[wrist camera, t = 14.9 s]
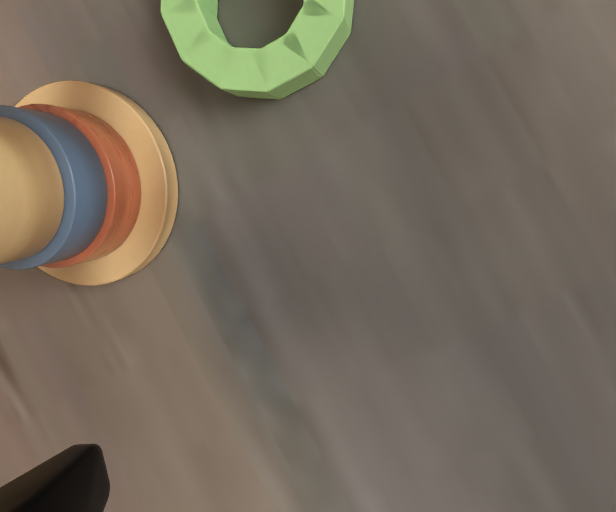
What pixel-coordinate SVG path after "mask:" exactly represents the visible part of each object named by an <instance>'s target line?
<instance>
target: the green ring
mask: <svg viewBox="0 0 616 512" xmlns="http://www.w3.org/2000/svg"><path fill="white" fill-rule="evenodd" d="M353 7H354V0H303V7H302V8H301V10H300V11H299V13H298V15H297V16H296V18H295V20H294V21H293V23H292V25H291V26H290V28H289V30H288V31H287V33H286V34H285V35H283V36H282V37H280V38H278V39H276V40H275V41H273V42H271V43H270V44H268V45H266V46H264V47H263V48H261V49H258V48H236V47H233V46H231V45H230V44H228V42H227V40H226V38H225V35H224V33H223V31H222V29H221V26H220V24H219V22H218V19H217V11H218V0H161V15H162V18H163V20H164V22H165V24H166V27H167V29H168V31H169V33H170V35H171V38H172V40H173V42H174V44H175V47H176V49H177V51H178V53H179V56H180V58H181V60H183V62H184V63H185V64H187V65H188V66H189V67H191V68H192V69H193V70H195V71H196V72H197V73H199V74H200V75H201V76H203V77H204V78H205V79H207V80H208V81H210V82H211V83H212V84H214V85H215V86H216V87H218V88H219V89H221V90H224V91H226V92H228V93H231V94H233V95H235V96H238V97H250V98H264V99H279V100H280V99H282V98H284V97H286V96H288V95H290V94H292V93H294V92H296V91H297V90H299V89H301V88H303V87H305V86H307V85H309V84H310V83H312V82H314V81H316V80H318V79H320V78H321V77H323V76H324V74H325V73H326V71H327V69H328V68H329V66H330V65H331V63H332V62H333V60H334V59H335V57H336V56H337V54H338V53H339V51H340V49H341V48H342V46H343V45H344V43H345V42H346V40H347V39H348V37H349V36H350V33H351V26H352V17H353Z"/></svg>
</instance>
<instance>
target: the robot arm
mask: <svg viewBox="0 0 616 512" xmlns="http://www.w3.org/2000/svg"><path fill="white" fill-rule="evenodd" d="M109 492H110V482H109V477H108V473H107V469H106V465H105V461H104V456H103V452H102V449H101V448H100V446H99V445H97V444H77V445H73V446H71V447H69V448H68V449H66V450H64V451H62V452H61V453H59V454H57V455H56V456H54V457H52V458H50V459H49V460H47V461H45V462H44V463H42V464H40V465H38V466H37V467H35V468H33V469H32V470H30V471H28V472H26V473H25V474H23V475H21V476H20V477H18V478H16V479H14V480H13V481H11V482H9V483H8V484H6V485H4V486H2V487H1V488H0V512H103V511H104V508H105V505H106V503H107V500H108V497H109Z"/></svg>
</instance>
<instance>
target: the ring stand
mask: <svg viewBox="0 0 616 512" xmlns="http://www.w3.org/2000/svg"><path fill="white" fill-rule="evenodd" d="M177 203H178V181H177V175H176V168H175V165H174V161H173V157H172V154H171V152H170V149H169V147H168V144H167V142H166V140H165V138H164V137H163V135H162V133H161V131H160V130H159V128H158V127H157V125H156V124H155V123H154V121H153V120H152V119H151V118H150V116H149V115H148V114H147V113H146V112H145V111H144V110H143V109H142V108H141V107H140V106H138V105H137V104H136V103H135V102H134V101H132V100H131V99H129V98H128V97H126V96H125V95H123V94H121V93H119V92H117V91H115V90H112V89H110V88H106V87H103V86H99V85H96V84H92V83H88V82H83V81H75V80H74V81H59V82H54V83H50V84H48V85H45V86H42V87H40V88H38V89H36V90H34V91H32V92H31V93H29V94H28V95H27V96H25V97H24V98H23V99H22V100H20V101H19V103H18V104H17V105H16V106H15V107H11V106H5V105H0V267H3V268H7V269H14V270H23V269H30V268H34V267H38V268H40V269H41V270H43V271H44V272H45V273H47V274H49V275H51V276H53V277H55V278H57V279H60V280H62V281H65V282H68V283H73V284H77V285H86V286H93V285H103V284H107V283H112V282H114V281H117V280H120V279H123V278H125V277H128V276H130V275H133V274H134V273H136V272H138V271H140V270H141V269H143V268H144V267H145V266H146V265H148V264H149V263H150V262H151V261H152V260H153V259H154V258H155V257H156V256H157V255H158V253H159V252H160V250H161V249H162V247H163V246H164V245H165V243H166V241H167V239H168V237H169V235H170V233H171V230H172V227H173V224H174V221H175V216H176V211H177Z"/></svg>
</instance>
